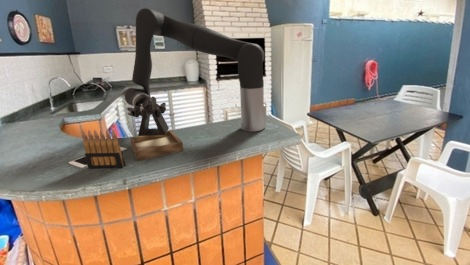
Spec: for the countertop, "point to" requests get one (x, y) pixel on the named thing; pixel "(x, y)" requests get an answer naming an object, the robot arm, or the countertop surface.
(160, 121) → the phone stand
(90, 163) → the ammunition clip
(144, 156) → the shallow tray
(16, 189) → the countertop surface
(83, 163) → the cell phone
